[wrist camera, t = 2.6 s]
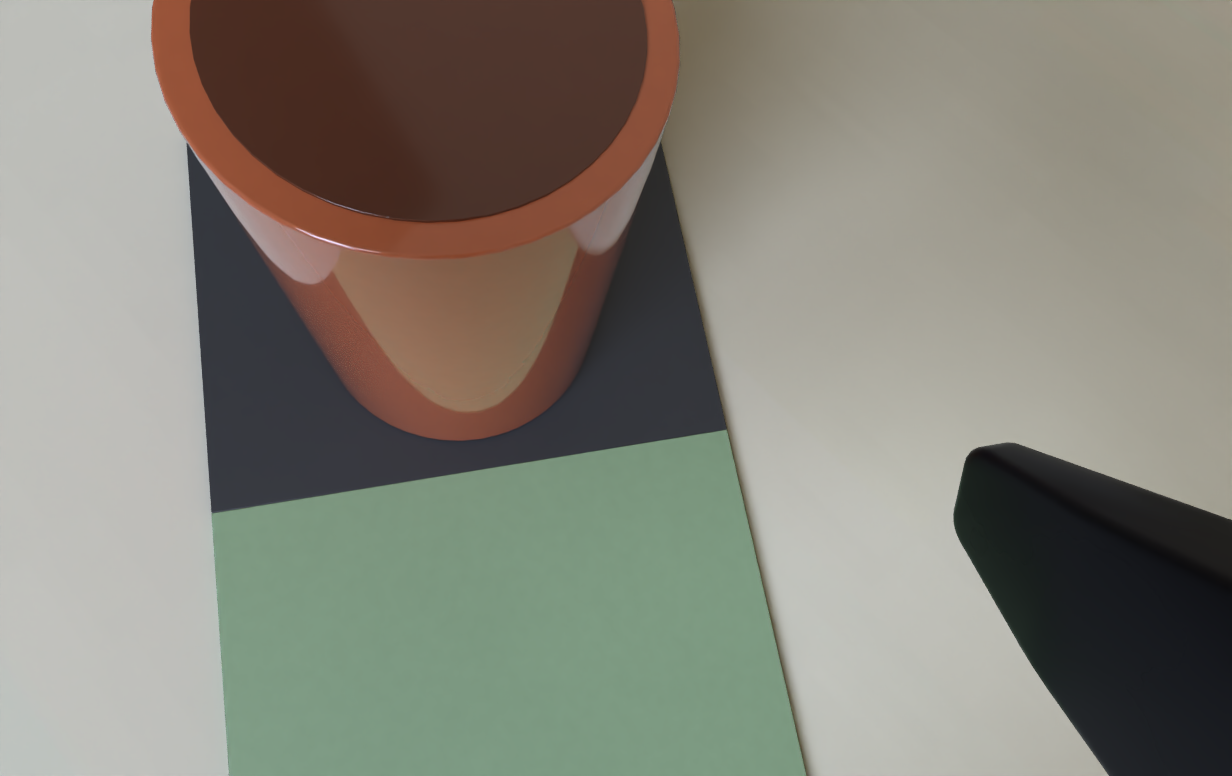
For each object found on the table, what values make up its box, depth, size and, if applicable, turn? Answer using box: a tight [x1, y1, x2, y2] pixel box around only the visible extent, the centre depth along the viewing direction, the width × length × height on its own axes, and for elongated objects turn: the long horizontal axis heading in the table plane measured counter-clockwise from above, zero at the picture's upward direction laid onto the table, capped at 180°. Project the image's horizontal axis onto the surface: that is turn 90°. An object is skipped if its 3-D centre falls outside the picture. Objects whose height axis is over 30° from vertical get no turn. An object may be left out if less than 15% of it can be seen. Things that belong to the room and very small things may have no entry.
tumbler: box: [151, 0, 680, 441], centre depth 16 cm, size 7×7×11 cm
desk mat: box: [187, 141, 806, 776], centre depth 21 cm, size 21×13×1 cm, turn 11°
